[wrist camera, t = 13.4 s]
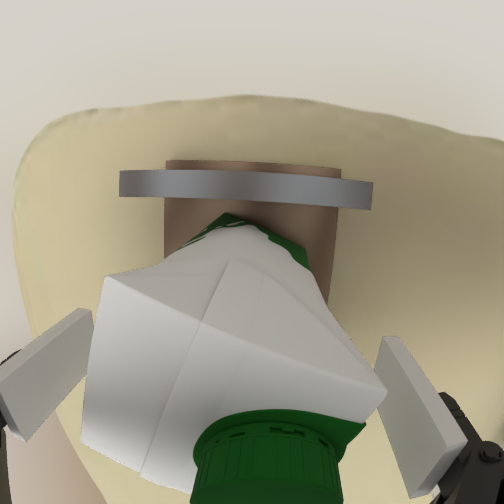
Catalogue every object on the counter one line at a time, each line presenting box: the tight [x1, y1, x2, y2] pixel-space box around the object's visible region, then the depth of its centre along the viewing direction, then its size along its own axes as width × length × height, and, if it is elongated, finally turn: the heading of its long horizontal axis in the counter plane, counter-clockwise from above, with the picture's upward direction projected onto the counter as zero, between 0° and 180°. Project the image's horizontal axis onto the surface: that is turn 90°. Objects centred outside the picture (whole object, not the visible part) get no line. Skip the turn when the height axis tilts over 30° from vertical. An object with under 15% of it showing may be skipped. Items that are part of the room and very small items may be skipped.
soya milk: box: [81, 212, 388, 504], centre depth 15 cm, size 9×9×20 cm
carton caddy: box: [119, 160, 373, 306], centre depth 21 cm, size 14×17×9 cm
